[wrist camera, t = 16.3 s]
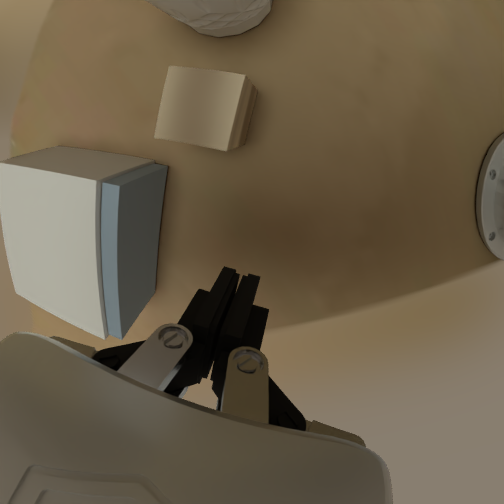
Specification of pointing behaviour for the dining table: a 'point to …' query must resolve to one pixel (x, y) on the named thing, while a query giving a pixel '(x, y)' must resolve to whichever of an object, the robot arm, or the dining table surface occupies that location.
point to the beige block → (205, 108)
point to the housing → (59, 229)
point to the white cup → (216, 14)
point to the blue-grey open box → (130, 243)
